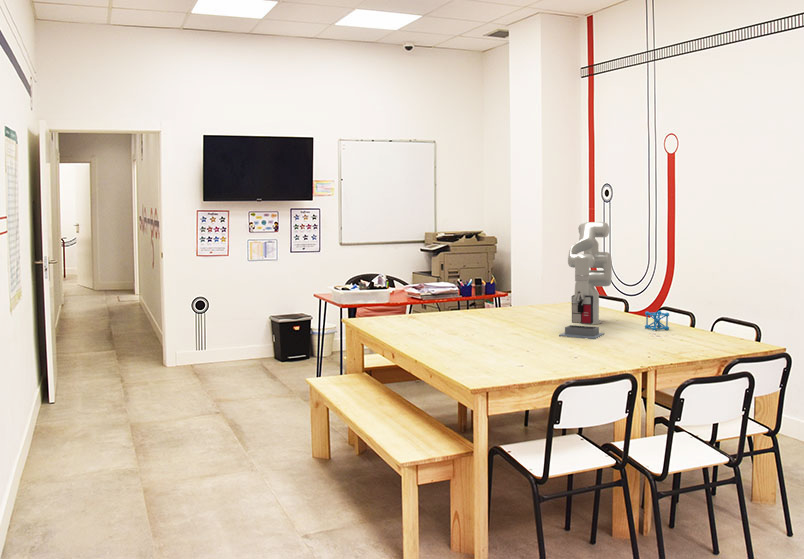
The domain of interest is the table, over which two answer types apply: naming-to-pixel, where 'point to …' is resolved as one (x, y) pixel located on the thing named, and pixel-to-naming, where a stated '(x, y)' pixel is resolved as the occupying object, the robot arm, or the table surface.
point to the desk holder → (582, 332)
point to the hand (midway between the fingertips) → (582, 311)
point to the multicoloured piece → (588, 310)
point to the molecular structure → (657, 320)
